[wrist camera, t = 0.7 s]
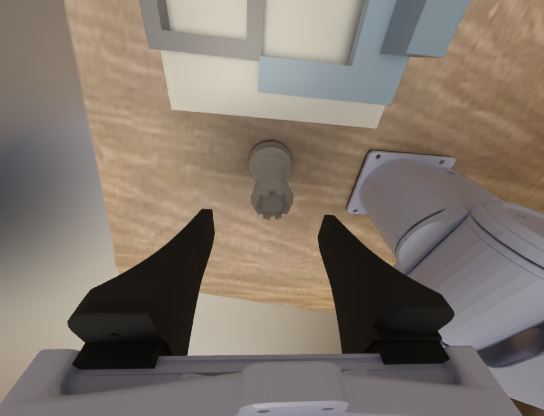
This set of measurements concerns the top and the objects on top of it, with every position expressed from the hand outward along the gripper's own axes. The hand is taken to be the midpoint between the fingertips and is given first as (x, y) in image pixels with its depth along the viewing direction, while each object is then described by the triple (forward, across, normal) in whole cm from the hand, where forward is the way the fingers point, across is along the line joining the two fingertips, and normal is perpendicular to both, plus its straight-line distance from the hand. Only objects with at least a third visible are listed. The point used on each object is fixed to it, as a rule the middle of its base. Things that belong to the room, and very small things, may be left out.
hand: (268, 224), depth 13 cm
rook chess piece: (+10, 0, 0) cm, 10 cm away
